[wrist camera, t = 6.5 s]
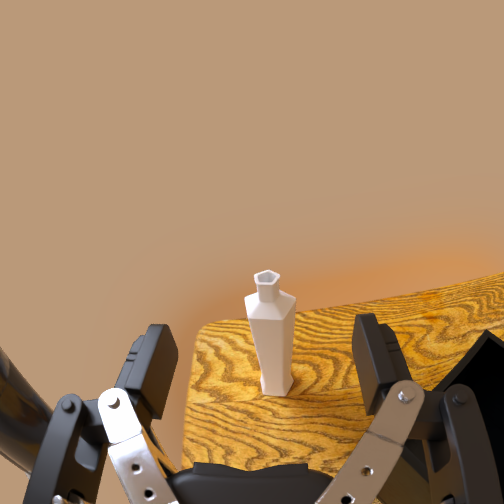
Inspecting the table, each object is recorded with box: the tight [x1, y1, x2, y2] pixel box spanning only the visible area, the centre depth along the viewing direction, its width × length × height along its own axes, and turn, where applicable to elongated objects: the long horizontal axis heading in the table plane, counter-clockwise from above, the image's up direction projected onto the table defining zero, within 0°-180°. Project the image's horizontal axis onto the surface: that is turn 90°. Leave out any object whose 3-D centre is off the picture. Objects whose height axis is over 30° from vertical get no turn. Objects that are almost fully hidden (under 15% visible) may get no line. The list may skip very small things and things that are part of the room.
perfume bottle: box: [245, 270, 296, 396], centre depth 28 cm, size 5×4×15 cm
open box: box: [376, 329, 504, 504], centre depth 14 cm, size 16×16×10 cm
